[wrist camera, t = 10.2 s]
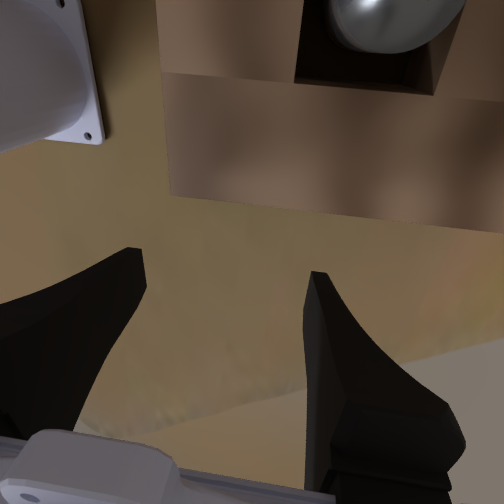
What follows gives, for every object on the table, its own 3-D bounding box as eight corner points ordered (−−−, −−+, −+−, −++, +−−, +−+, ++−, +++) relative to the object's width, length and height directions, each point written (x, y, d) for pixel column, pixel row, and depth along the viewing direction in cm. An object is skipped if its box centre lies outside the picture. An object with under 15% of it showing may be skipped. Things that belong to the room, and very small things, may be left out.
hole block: (194, 167, 22) (170, 195, 18) (180, -302, 12) (117, -488, 8) (465, 196, 21) (508, 234, 16) (696, -296, 11) (945, -511, 7)
